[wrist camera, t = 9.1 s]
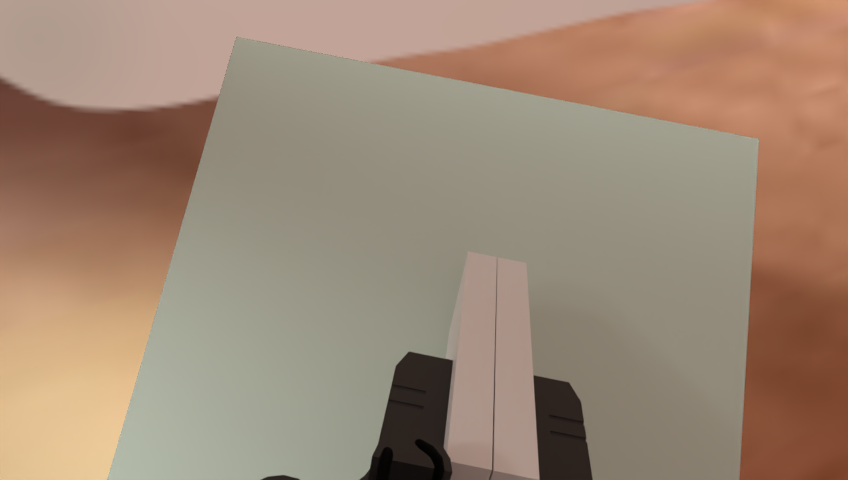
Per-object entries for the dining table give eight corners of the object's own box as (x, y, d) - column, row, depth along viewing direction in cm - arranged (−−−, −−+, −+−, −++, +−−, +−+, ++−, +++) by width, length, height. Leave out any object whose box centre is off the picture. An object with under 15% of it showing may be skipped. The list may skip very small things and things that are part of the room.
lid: (712, 656, 16) (728, 670, 15) (101, 541, 16) (86, 549, 15) (744, 148, 19) (758, 138, 19) (242, 50, 19) (236, 36, 19)
